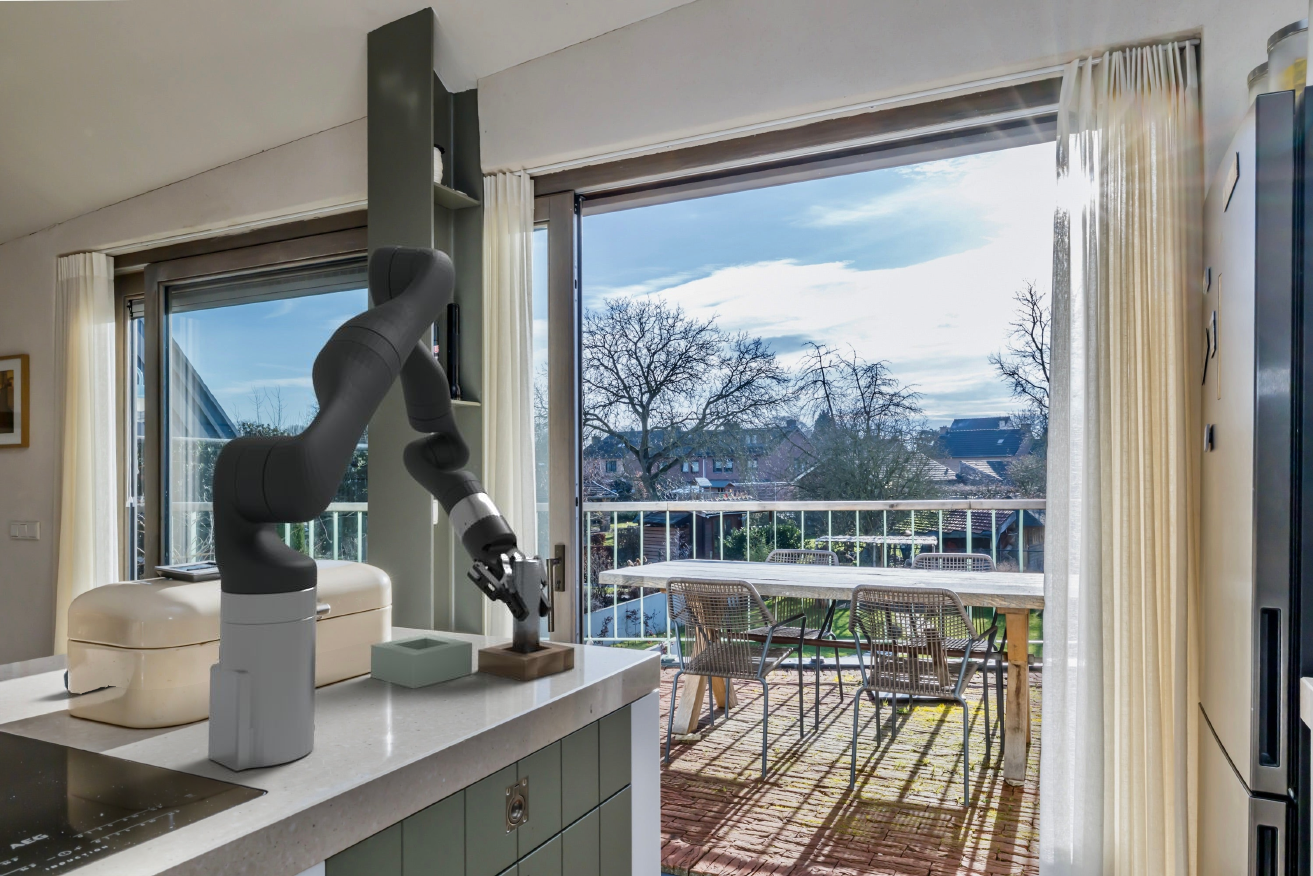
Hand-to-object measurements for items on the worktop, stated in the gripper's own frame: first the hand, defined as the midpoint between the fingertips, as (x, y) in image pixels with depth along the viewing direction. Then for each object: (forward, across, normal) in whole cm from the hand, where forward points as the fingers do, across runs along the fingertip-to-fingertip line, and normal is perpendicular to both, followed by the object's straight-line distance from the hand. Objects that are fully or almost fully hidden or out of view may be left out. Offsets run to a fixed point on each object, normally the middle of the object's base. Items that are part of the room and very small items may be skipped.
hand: (535, 615), depth 122 cm
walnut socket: (+4, 0, +7) cm, 8 cm away
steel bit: (+4, 0, +7) cm, 8 cm away
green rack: (-2, -12, +14) cm, 18 cm away
